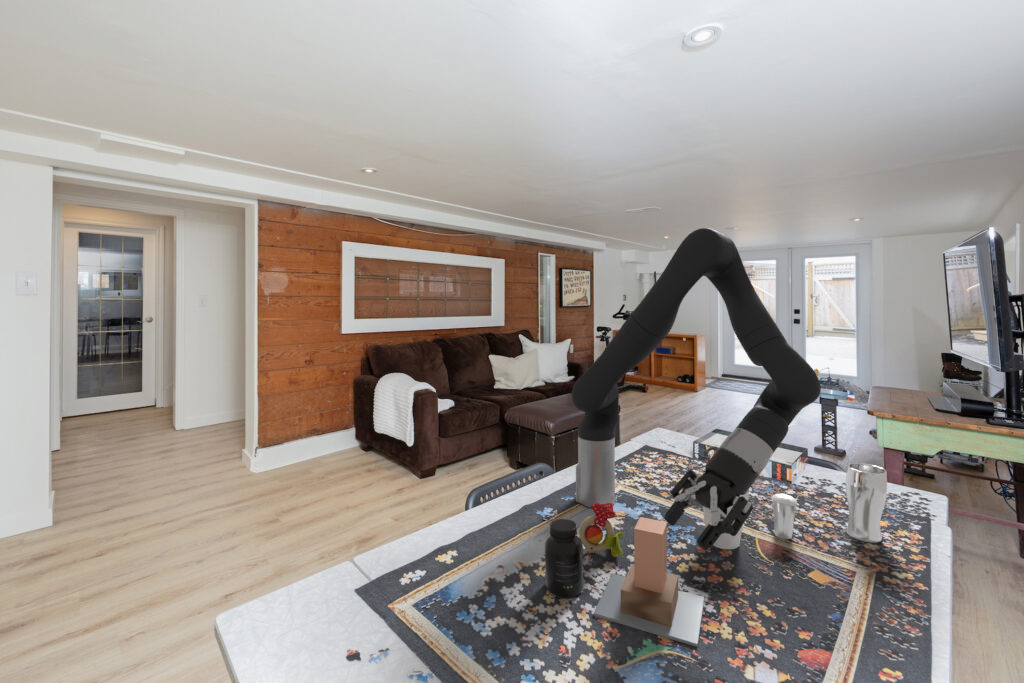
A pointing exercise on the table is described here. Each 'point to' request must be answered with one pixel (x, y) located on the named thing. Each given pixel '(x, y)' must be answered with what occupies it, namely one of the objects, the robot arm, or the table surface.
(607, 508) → the bird rattle
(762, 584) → the table surface
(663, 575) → the tall block
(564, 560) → the supplement bottle
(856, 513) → the beer glass
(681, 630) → the building mat
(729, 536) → the foam cup
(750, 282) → the robot arm
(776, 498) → the milkshake
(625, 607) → the base slab
